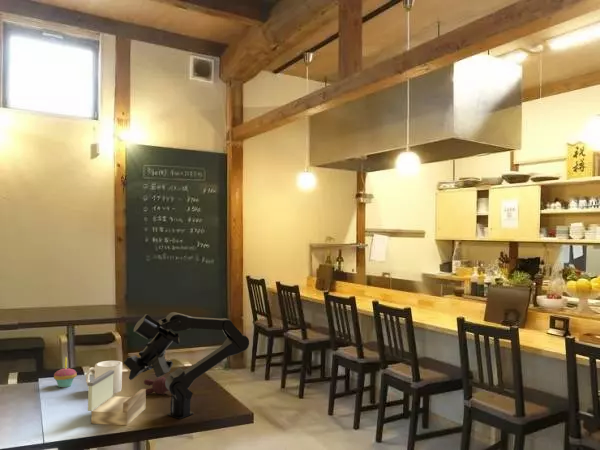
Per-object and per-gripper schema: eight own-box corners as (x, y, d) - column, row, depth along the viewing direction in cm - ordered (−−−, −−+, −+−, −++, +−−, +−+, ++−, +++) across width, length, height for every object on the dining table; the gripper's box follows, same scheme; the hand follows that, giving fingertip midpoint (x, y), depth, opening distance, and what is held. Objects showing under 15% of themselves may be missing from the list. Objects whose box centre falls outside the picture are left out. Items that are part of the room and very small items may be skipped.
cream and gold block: (145, 408, 179) (145, 389, 180) (127, 425, 163) (127, 403, 164) (112, 407, 180) (113, 387, 180) (91, 423, 164) (91, 401, 164)
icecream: (184, 374, 202) (146, 377, 201) (180, 374, 195) (141, 378, 194) (184, 392, 200) (146, 396, 199) (180, 393, 193) (141, 397, 192)
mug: (81, 394, 194) (82, 367, 195) (90, 387, 204) (90, 360, 205) (117, 394, 196) (118, 366, 196) (124, 386, 206) (125, 360, 206)
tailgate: (113, 396, 180) (114, 370, 181) (91, 411, 164) (92, 383, 164) (109, 395, 180) (109, 370, 181) (86, 411, 164) (87, 382, 164)
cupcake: (53, 384, 207) (54, 355, 208) (76, 382, 211) (77, 353, 211) (53, 390, 200) (54, 359, 200) (76, 387, 203) (77, 357, 204)
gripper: (162, 367, 161) (131, 402, 162) (186, 356, 179) (159, 389, 180) (138, 343, 163) (108, 378, 164) (165, 335, 182) (138, 367, 183)
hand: (130, 378), depth 173 cm, fingers closed
